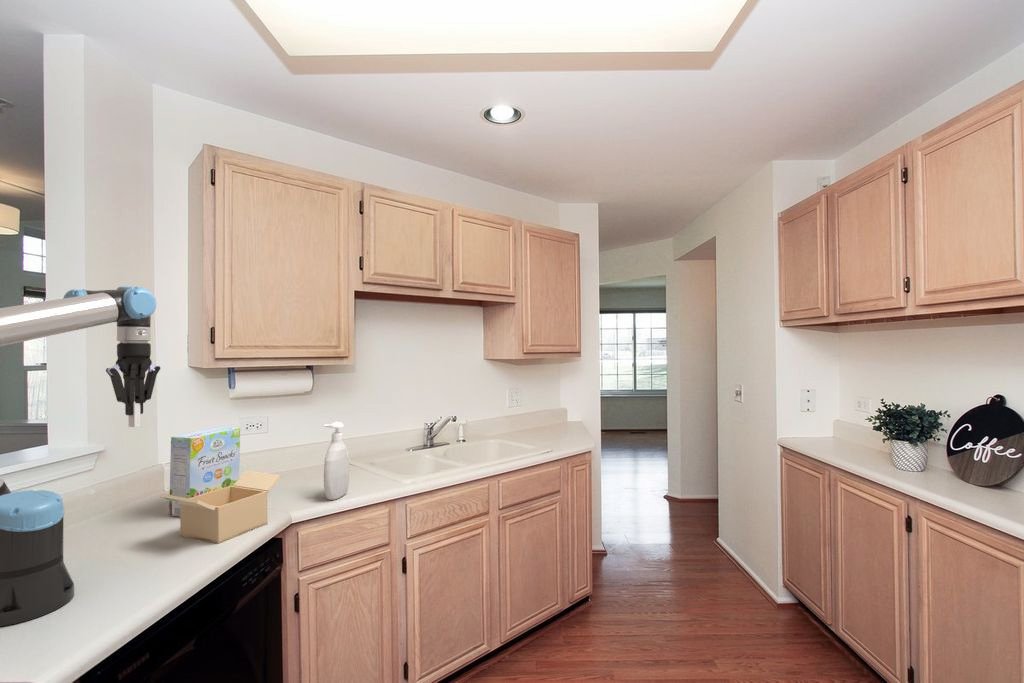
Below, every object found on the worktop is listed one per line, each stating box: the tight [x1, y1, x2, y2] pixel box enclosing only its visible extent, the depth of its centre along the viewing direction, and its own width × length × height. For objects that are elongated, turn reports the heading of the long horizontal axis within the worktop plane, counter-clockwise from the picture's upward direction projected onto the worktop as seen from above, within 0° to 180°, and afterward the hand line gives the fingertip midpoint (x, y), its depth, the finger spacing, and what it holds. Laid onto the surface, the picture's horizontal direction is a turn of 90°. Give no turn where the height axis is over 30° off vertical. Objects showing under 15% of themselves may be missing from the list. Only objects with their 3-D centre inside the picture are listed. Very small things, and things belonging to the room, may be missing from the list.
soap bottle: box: [323, 421, 351, 501], centre depth 177 cm, size 14×8×27 cm, turn 170°
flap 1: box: [160, 493, 216, 510], centre depth 135 cm, size 6×15×1 cm
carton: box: [179, 486, 268, 545], centre depth 146 cm, size 16×16×10 cm
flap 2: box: [234, 470, 282, 493], centre depth 156 cm, size 6×15×1 cm
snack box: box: [168, 426, 241, 517], centre depth 167 cm, size 22×9×26 cm, turn 168°
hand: (134, 426), depth 137 cm, fingers closed
